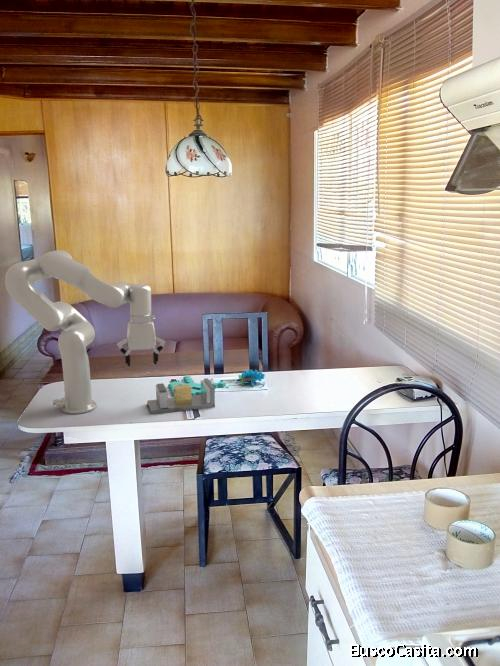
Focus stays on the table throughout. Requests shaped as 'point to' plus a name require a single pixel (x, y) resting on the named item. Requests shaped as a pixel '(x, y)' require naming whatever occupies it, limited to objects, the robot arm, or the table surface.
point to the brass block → (182, 394)
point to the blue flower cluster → (251, 376)
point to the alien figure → (193, 385)
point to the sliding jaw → (162, 396)
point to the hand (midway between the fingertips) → (141, 364)
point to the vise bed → (197, 403)
